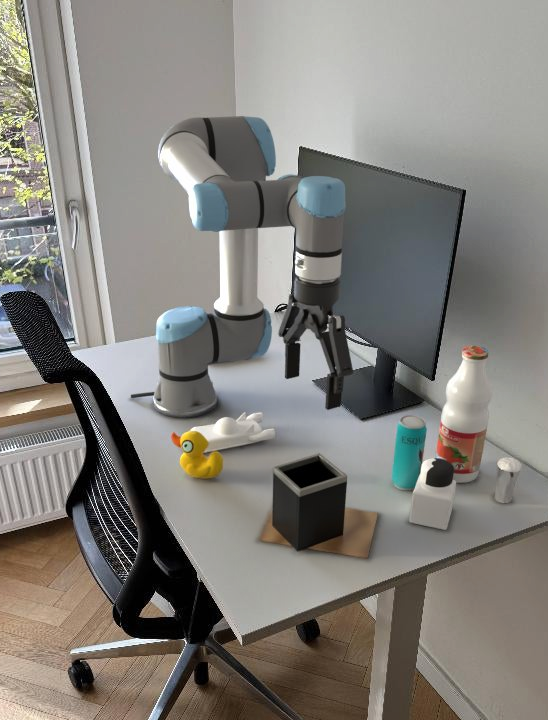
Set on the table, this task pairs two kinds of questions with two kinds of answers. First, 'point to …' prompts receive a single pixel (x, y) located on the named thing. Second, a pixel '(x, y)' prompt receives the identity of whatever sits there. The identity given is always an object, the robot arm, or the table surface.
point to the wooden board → (350, 543)
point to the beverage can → (408, 452)
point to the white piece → (234, 432)
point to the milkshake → (506, 478)
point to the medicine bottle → (433, 494)
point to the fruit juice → (466, 416)
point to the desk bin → (309, 501)
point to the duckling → (197, 455)
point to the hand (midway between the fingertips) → (311, 391)
